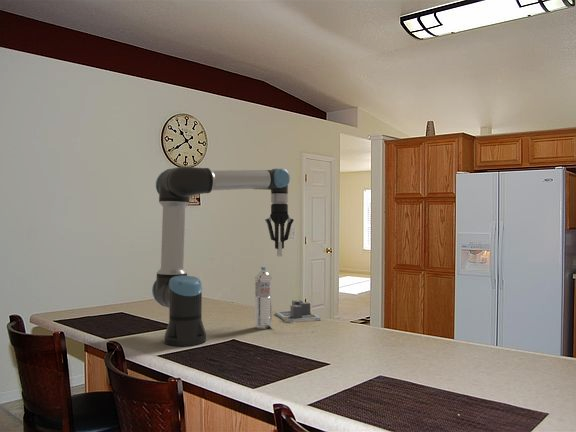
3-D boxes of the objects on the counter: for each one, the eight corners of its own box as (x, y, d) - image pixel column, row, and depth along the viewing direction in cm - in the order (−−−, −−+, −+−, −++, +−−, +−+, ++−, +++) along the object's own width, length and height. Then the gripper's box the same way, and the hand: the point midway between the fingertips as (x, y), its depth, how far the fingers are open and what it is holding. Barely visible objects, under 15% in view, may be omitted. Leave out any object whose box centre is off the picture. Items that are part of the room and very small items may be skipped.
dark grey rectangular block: (302, 320, 212) (302, 306, 212) (293, 321, 211) (293, 306, 211) (299, 318, 216) (299, 304, 216) (290, 319, 215) (290, 305, 215)
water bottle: (272, 326, 208) (272, 266, 209) (270, 329, 202) (270, 268, 202) (256, 325, 209) (256, 266, 209) (253, 329, 202) (253, 268, 202)
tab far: (303, 314, 225) (303, 301, 225) (294, 315, 224) (294, 301, 224) (300, 313, 229) (300, 300, 229) (292, 313, 228) (292, 300, 228)
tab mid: (310, 317, 220) (310, 303, 220) (301, 317, 219) (301, 303, 219) (307, 315, 224) (307, 301, 224) (298, 316, 222) (298, 302, 223)
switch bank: (320, 323, 213) (320, 317, 213) (287, 325, 209) (287, 319, 209) (305, 315, 231) (305, 309, 231) (275, 317, 227) (275, 311, 227)
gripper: (290, 203, 228) (290, 255, 228) (263, 203, 224) (263, 255, 224) (295, 203, 221) (295, 256, 220) (267, 203, 217) (267, 257, 217)
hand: (279, 256), depth 222 cm, fingers closed
